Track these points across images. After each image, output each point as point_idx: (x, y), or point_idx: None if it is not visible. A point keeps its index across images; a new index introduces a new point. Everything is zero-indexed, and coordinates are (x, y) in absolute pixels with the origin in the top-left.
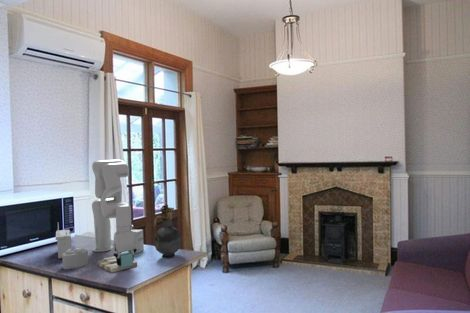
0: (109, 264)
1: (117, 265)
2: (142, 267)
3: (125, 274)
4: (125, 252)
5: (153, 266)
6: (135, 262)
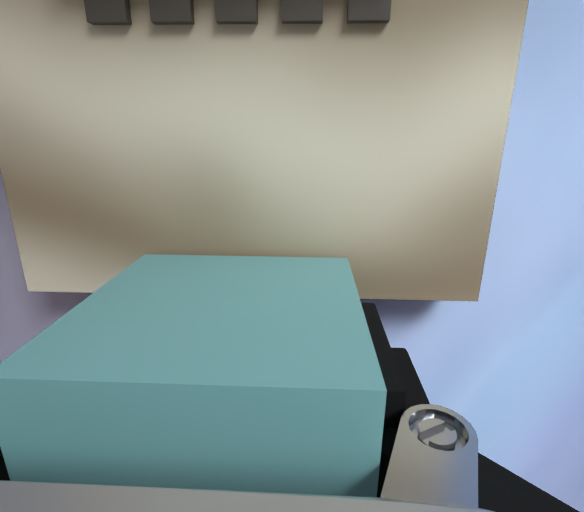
0: (49, 23)
1: (153, 217)
2: (457, 385)
3: None
4: (266, 410)
5: (567, 450)
6: (450, 298)
